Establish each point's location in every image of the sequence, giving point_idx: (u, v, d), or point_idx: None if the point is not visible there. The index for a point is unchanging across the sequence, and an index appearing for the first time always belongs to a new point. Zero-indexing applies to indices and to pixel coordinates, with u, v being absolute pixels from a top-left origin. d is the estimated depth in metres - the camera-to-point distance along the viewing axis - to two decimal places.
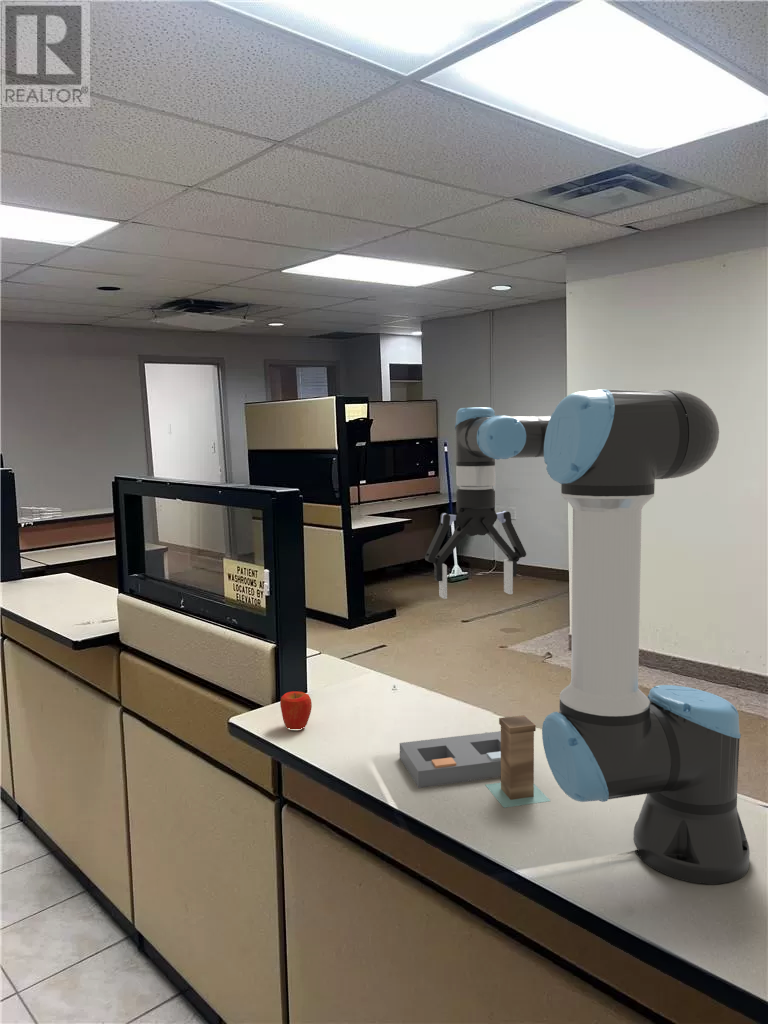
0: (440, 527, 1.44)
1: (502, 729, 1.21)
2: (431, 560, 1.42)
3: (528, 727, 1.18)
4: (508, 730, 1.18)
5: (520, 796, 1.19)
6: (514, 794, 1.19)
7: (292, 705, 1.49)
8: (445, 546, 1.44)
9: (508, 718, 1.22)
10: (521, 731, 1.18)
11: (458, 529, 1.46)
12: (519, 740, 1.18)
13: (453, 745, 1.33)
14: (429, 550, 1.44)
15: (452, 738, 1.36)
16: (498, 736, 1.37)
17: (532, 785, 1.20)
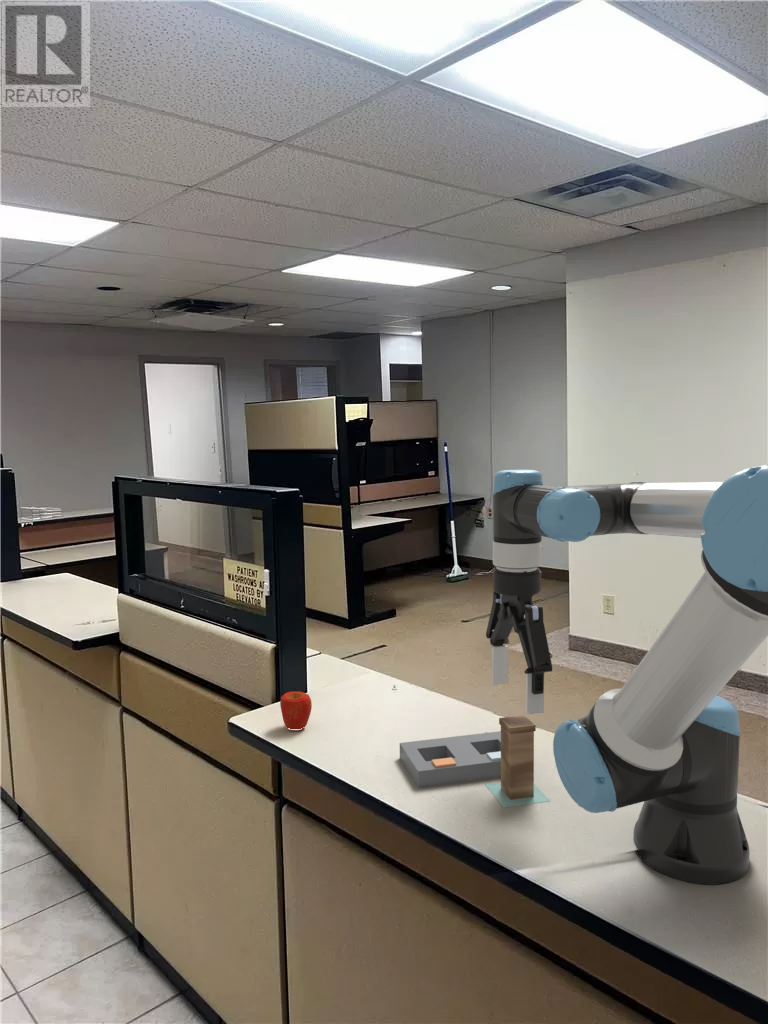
0: None
1: (502, 729, 1.21)
2: (487, 636, 1.28)
3: (528, 727, 1.18)
4: (508, 730, 1.18)
5: (520, 796, 1.19)
6: (514, 794, 1.19)
7: (292, 705, 1.49)
8: None
9: (508, 718, 1.22)
10: (521, 731, 1.18)
11: None
12: (519, 740, 1.18)
13: (453, 745, 1.33)
14: None
15: (452, 738, 1.36)
16: (498, 736, 1.37)
17: (532, 785, 1.20)
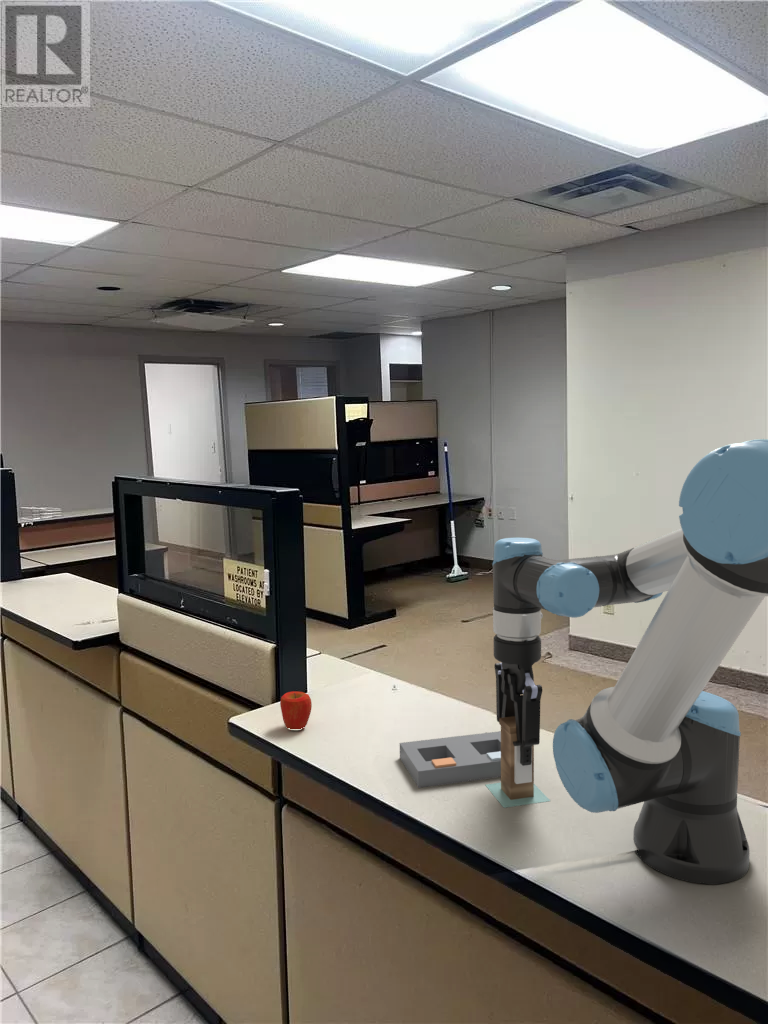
0: None
1: (502, 729, 1.21)
2: (497, 719, 1.25)
3: None
4: (508, 730, 1.18)
5: (520, 796, 1.19)
6: (514, 794, 1.19)
7: (292, 705, 1.49)
8: None
9: (508, 718, 1.22)
10: None
11: None
12: None
13: (453, 745, 1.33)
14: None
15: (452, 738, 1.36)
16: (498, 736, 1.37)
17: (532, 785, 1.20)
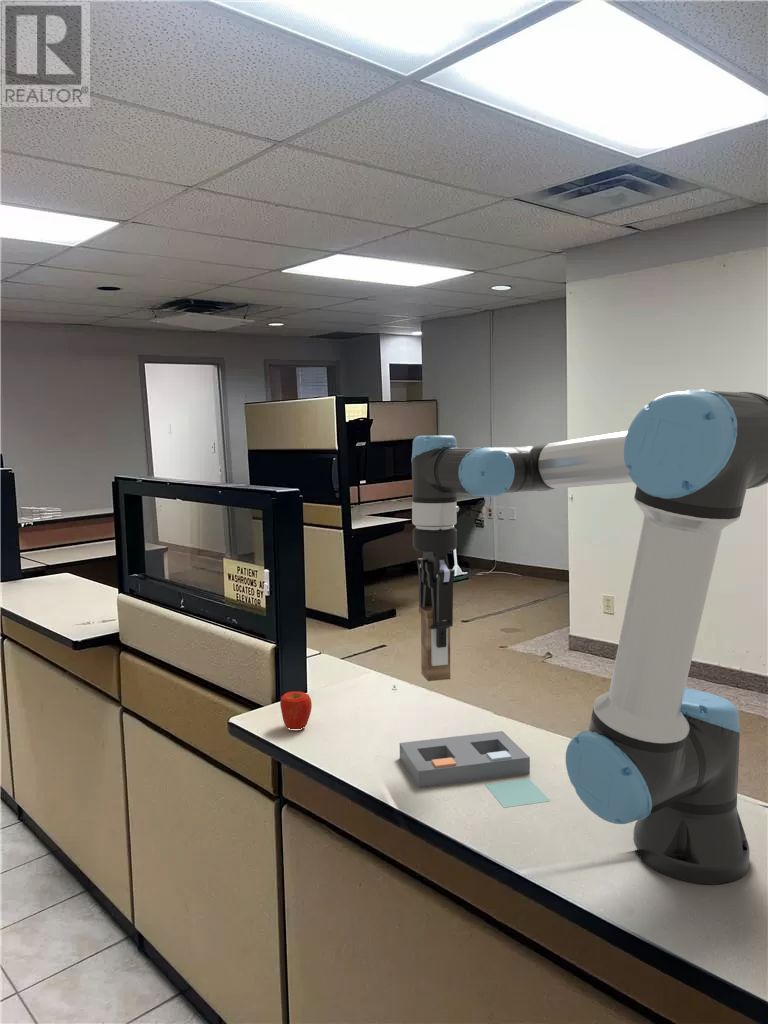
0: None
1: (422, 617, 1.29)
2: (419, 611, 1.32)
3: None
4: (425, 615, 1.26)
5: (437, 678, 1.27)
6: (431, 675, 1.27)
7: (292, 705, 1.49)
8: None
9: (427, 606, 1.29)
10: None
11: None
12: None
13: (453, 745, 1.33)
14: None
15: (452, 738, 1.36)
16: (498, 736, 1.37)
17: (449, 668, 1.27)
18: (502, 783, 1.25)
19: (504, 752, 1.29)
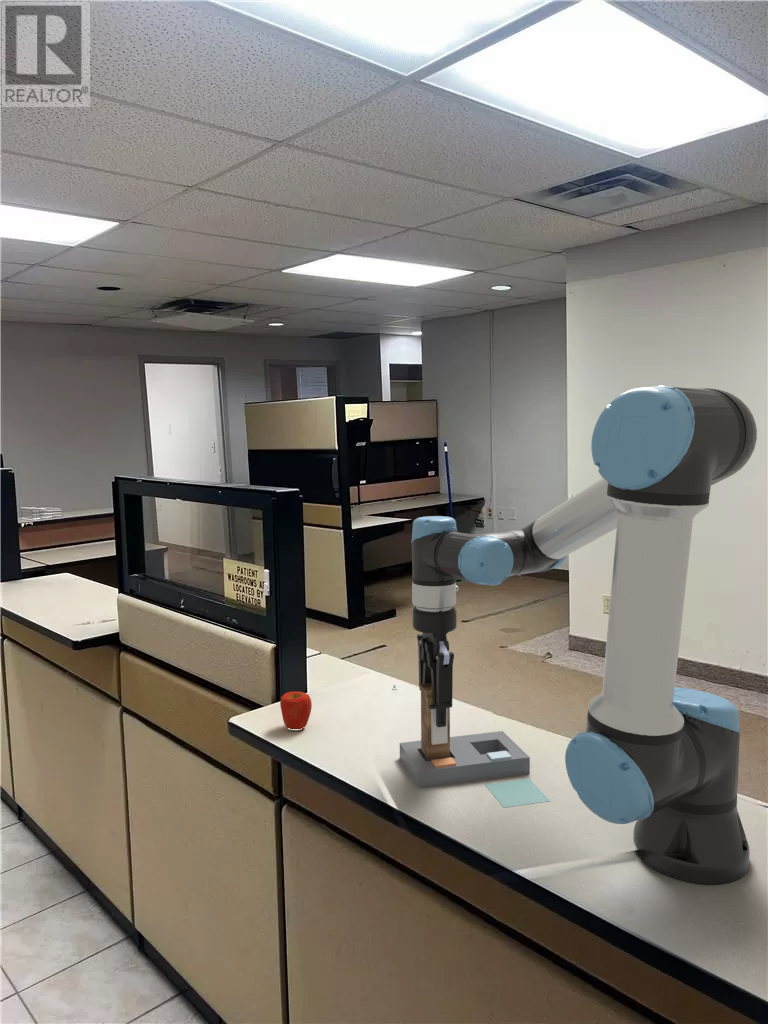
0: None
1: (421, 694, 1.30)
2: None
3: None
4: (425, 694, 1.27)
5: (437, 756, 1.28)
6: (431, 754, 1.28)
7: (292, 705, 1.49)
8: None
9: (427, 684, 1.31)
10: None
11: None
12: None
13: (453, 745, 1.33)
14: None
15: (452, 738, 1.36)
16: (498, 736, 1.37)
17: (448, 746, 1.29)
18: (502, 783, 1.25)
19: (504, 752, 1.29)
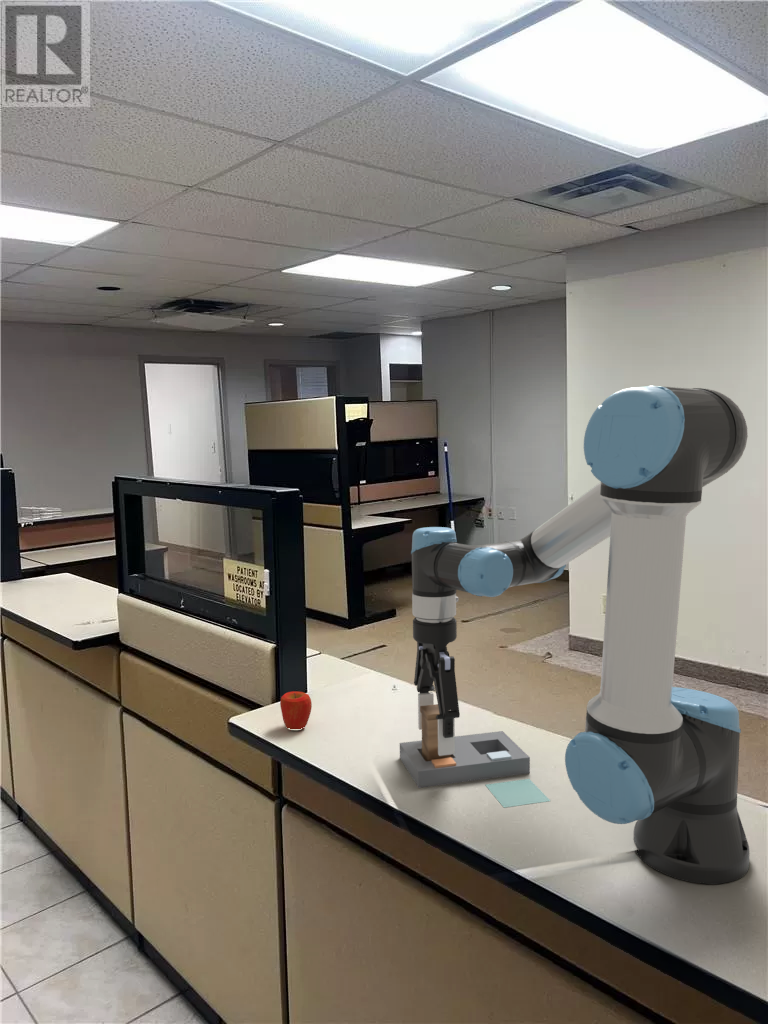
0: None
1: (422, 716, 1.30)
2: (414, 683, 1.37)
3: None
4: (426, 717, 1.27)
5: None
6: None
7: (292, 705, 1.49)
8: None
9: (428, 706, 1.31)
10: None
11: None
12: (437, 726, 1.28)
13: None
14: None
15: None
16: (498, 736, 1.37)
17: None
18: (502, 783, 1.25)
19: (504, 752, 1.29)
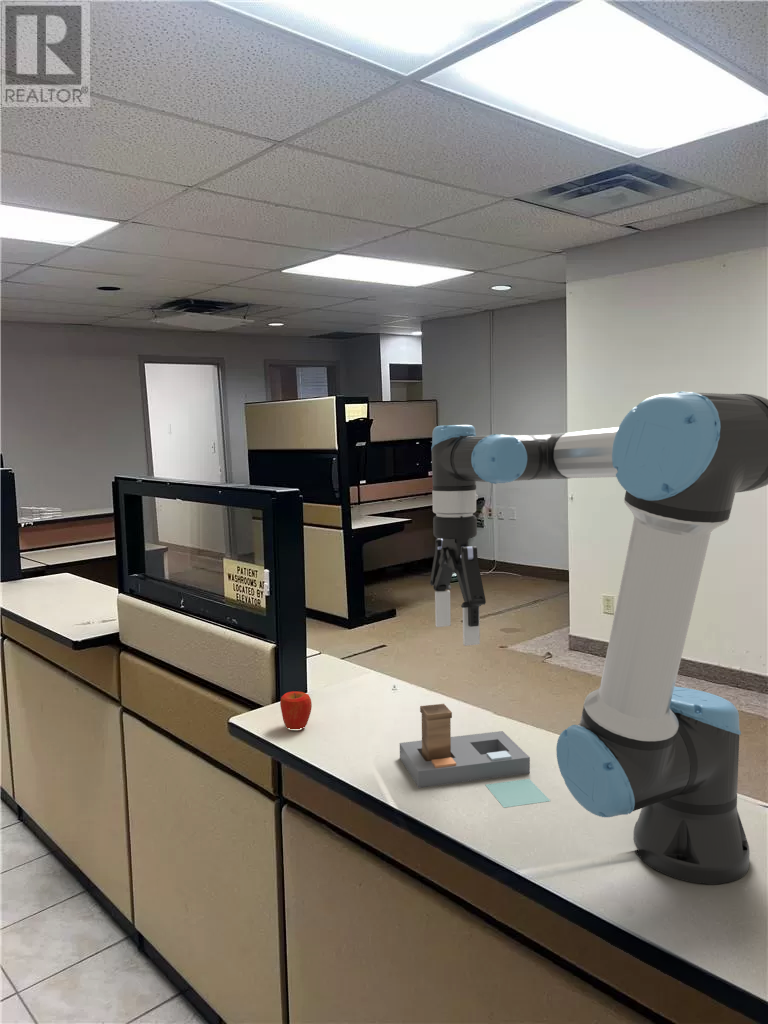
0: None
1: (422, 716, 1.30)
2: (431, 583, 1.39)
3: (445, 714, 1.28)
4: (426, 717, 1.27)
5: None
6: None
7: (292, 705, 1.49)
8: None
9: (428, 706, 1.31)
10: (438, 718, 1.27)
11: None
12: (437, 726, 1.28)
13: (453, 745, 1.33)
14: None
15: (452, 738, 1.36)
16: (498, 736, 1.37)
17: None
18: (502, 783, 1.25)
19: (504, 752, 1.29)
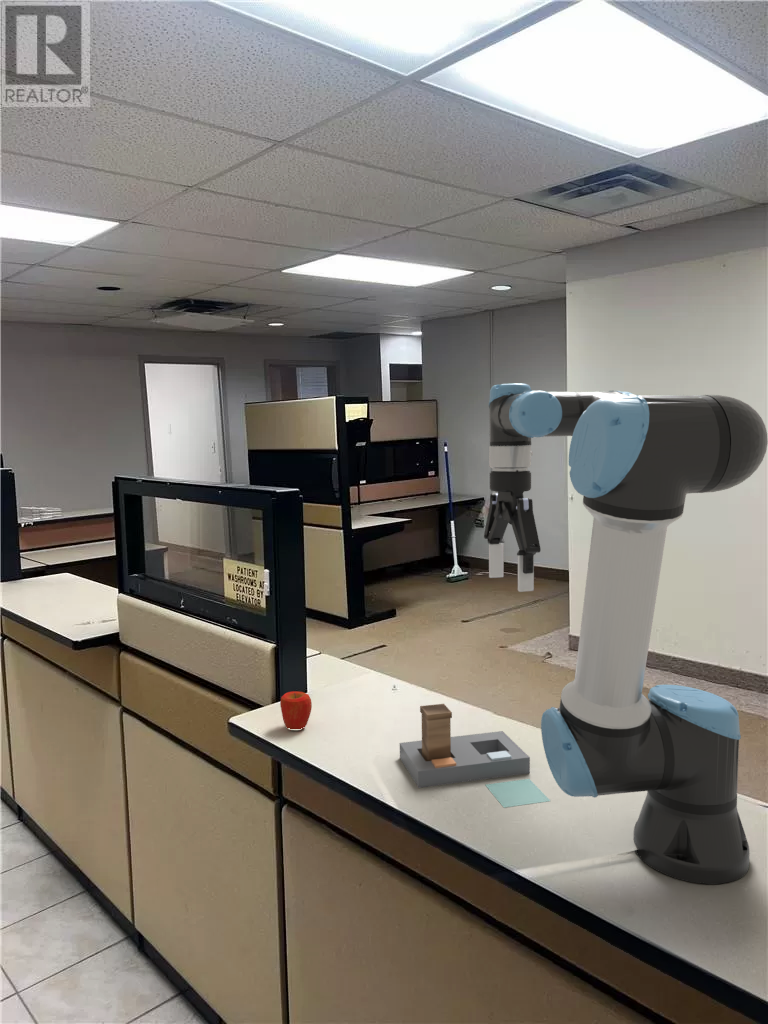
0: None
1: (422, 716, 1.30)
2: (484, 537, 1.46)
3: (445, 714, 1.28)
4: (426, 717, 1.27)
5: None
6: None
7: (292, 705, 1.49)
8: None
9: (428, 706, 1.31)
10: (438, 718, 1.27)
11: None
12: (437, 726, 1.28)
13: (453, 745, 1.33)
14: None
15: (452, 738, 1.36)
16: (498, 736, 1.37)
17: None
18: (502, 783, 1.25)
19: (504, 752, 1.29)
